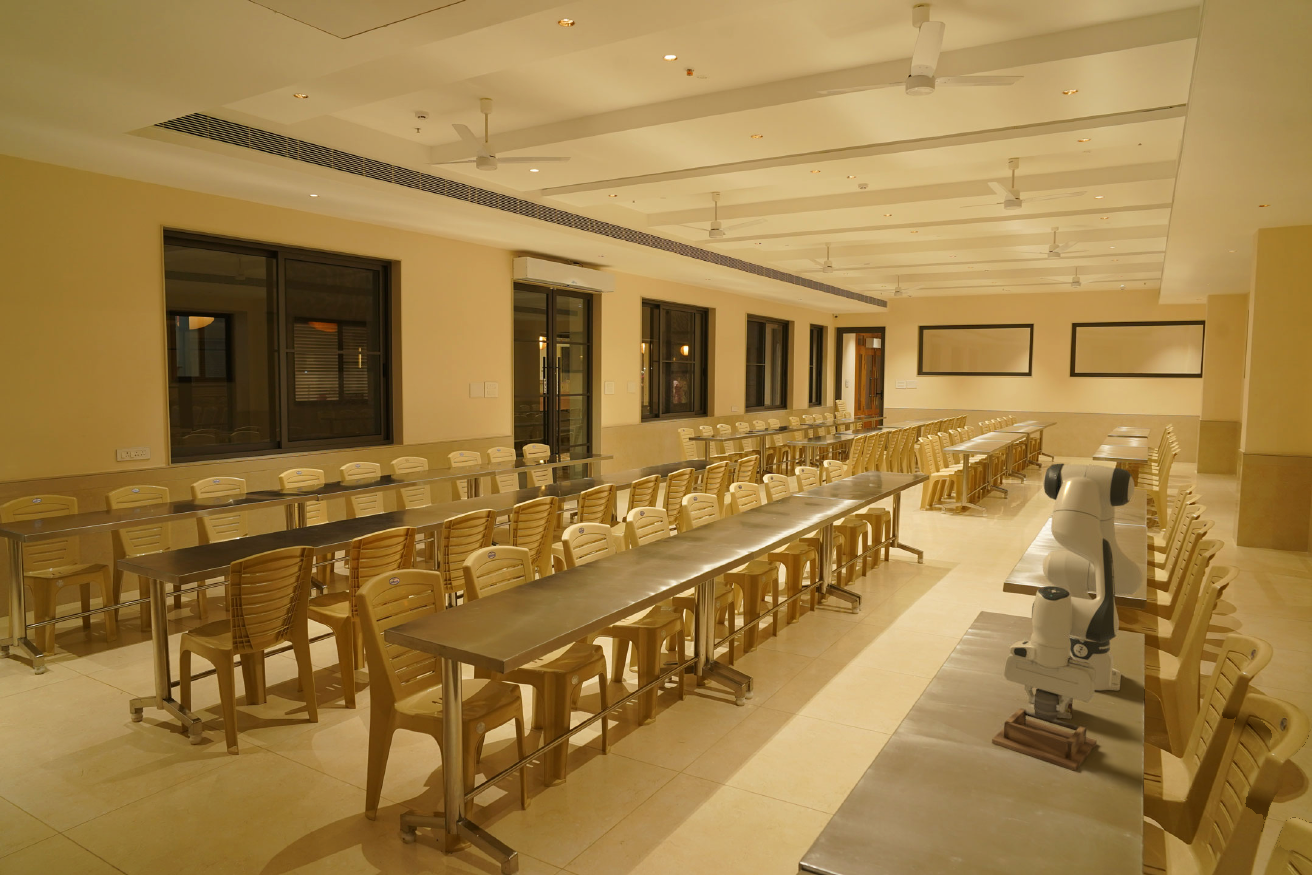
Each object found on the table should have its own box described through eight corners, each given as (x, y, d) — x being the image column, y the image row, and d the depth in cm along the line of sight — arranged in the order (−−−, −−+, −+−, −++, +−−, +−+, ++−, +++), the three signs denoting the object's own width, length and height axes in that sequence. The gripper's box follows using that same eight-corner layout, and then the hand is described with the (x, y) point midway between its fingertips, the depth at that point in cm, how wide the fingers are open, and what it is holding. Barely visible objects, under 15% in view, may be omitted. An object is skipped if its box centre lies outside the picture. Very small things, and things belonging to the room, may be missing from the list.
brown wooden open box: (1017, 719, 206) (1018, 701, 205) (1096, 744, 193) (1097, 724, 192) (991, 742, 193) (993, 723, 192) (1075, 770, 180) (1076, 750, 179)
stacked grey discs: (1037, 708, 196) (1039, 685, 195) (1060, 715, 192) (1062, 692, 191) (1030, 715, 192) (1032, 692, 191) (1054, 722, 188) (1055, 698, 187)
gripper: (1100, 661, 186) (1096, 716, 187) (1012, 639, 200) (1008, 691, 201) (1093, 668, 181) (1089, 724, 182) (1003, 645, 195) (1000, 698, 196)
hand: (1046, 707), depth 192 cm, fingers closed on stacked grey discs, 5 cm apart
